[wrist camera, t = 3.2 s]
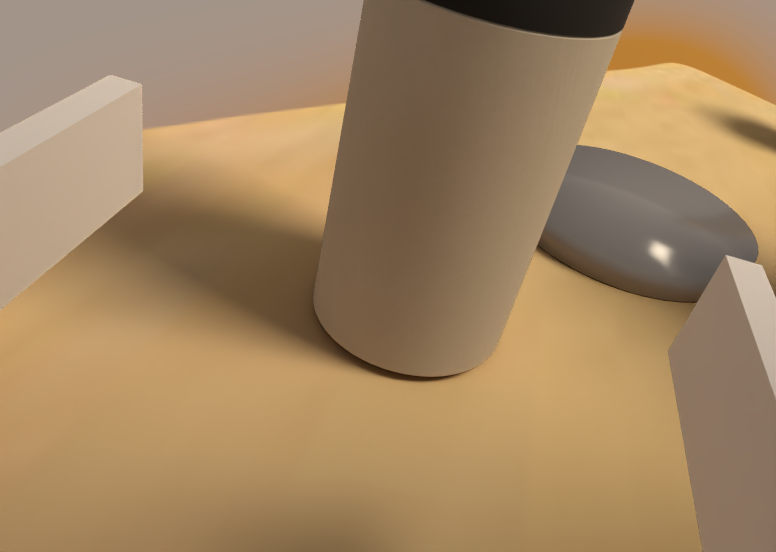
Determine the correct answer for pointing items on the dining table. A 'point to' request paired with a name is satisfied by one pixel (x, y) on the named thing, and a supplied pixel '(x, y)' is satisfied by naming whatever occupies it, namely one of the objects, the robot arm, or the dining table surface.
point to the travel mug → (452, 169)
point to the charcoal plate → (642, 226)
